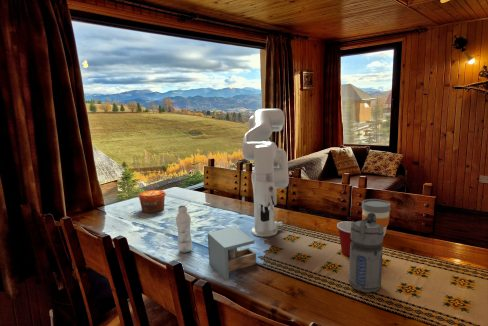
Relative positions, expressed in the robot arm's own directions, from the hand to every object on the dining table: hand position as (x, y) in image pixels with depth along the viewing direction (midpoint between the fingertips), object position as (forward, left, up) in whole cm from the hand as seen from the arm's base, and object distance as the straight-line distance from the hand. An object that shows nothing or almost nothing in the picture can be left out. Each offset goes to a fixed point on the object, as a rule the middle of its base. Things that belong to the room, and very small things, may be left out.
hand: (265, 220), depth 134 cm
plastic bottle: (+27, -23, -16) cm, 38 cm away
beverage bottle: (-18, +35, -16) cm, 43 cm away
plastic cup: (-31, +15, -16) cm, 38 cm away
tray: (+13, 0, -16) cm, 21 cm away
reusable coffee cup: (-56, +6, -16) cm, 59 cm away
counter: (+16, 0, -16) cm, 22 cm away
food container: (+26, -88, -16) cm, 93 cm away
